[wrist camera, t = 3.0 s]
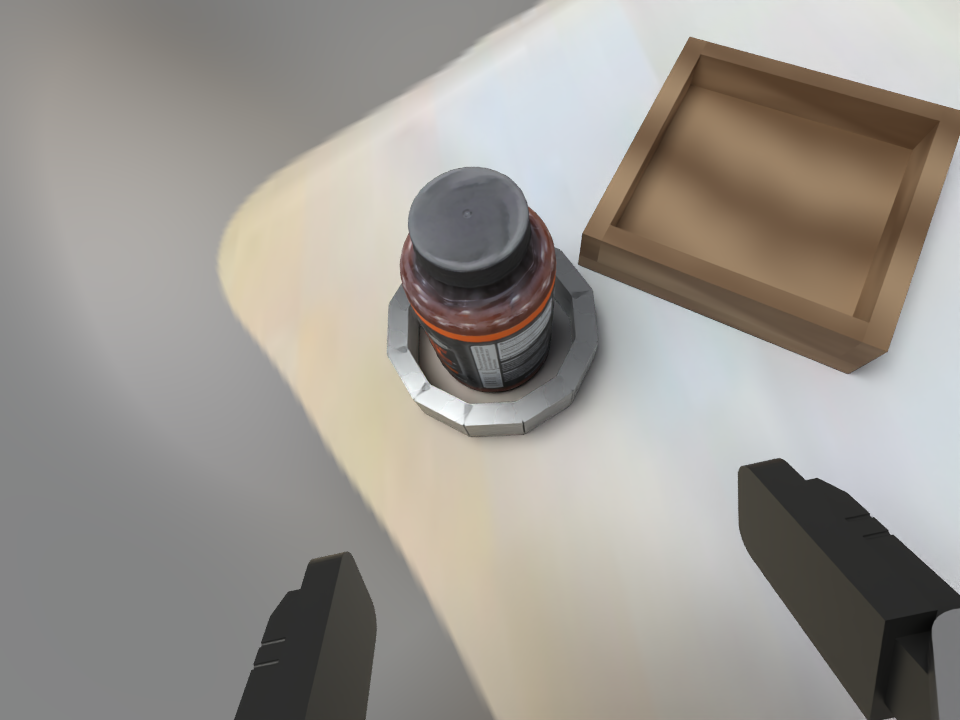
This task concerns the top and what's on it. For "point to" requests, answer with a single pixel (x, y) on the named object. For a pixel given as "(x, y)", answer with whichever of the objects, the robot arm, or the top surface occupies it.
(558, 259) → the holder ring
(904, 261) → the tray
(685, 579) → the top surface
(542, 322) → the supplement bottle
